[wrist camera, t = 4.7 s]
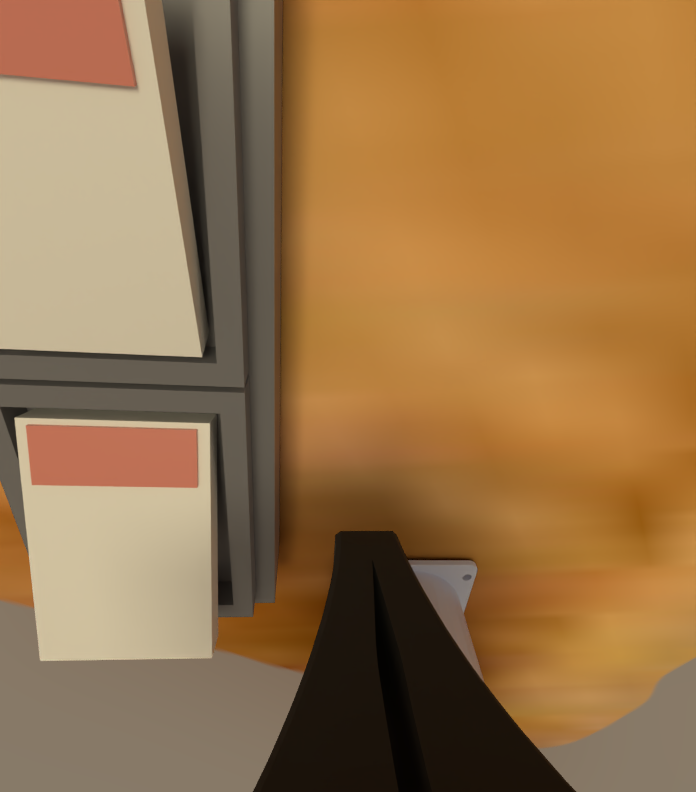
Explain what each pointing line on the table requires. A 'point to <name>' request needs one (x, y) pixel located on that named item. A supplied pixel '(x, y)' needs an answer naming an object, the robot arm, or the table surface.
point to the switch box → (205, 293)
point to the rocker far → (121, 532)
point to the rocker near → (94, 184)
